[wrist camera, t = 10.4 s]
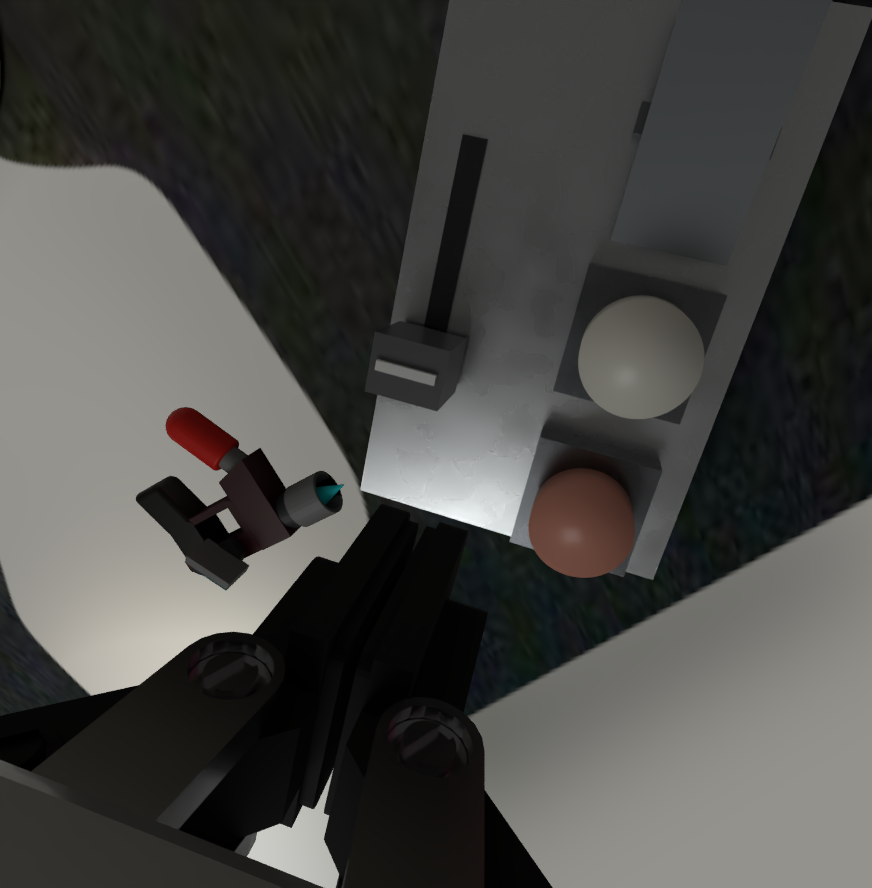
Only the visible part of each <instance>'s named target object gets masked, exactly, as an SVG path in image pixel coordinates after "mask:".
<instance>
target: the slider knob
mask: <svg viewBox="0 0 872 888" xmlns="http://www.w3.org/2000/svg"><path fill="white" fill-rule="evenodd" d="M466 342H467V338H464V337H460V336H456V335H453V334H449V333H445V332H441V331H437V330H433V329H429V328H426V327H422V326H418V325H414V324H410V323H406V322H402V321H399V322H396V323H394V324H392V325H389V326H387V327H385V328H382V329H380V330H378V331H375V335H374V341H373V347H372V352H371V358H370V364H369V370H368V375H367V381H366V387H365V391H366V392H369V393H373V394H376V395H380V396H384V397H387V398H391V399H394V400H398V401H401V402H405V403H408V404H412V405H416V406H419V407H423V408H426V409H430V410H433V411H438V410H439V409H440V408H441V407H442V406H443V405H444V404H445V403H446V402H447V400H448V399H449V398H450V397H451V396H452V395H453V394H454V393H455V391H456V386H457V382H458V377H459V373H460V369H461V364H462V360H463V356H464V351H465V347H466Z"/></svg>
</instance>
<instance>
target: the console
mask: <svg viewBox="0 0 872 888" xmlns="http://www.w3.org/2000/svg"><path fill="white" fill-rule="evenodd" d="M680 3H681V0H450V1H449V6H448V12H447V17H446V23H445V28H444V34H443V39H442V45H441V50H440V56H439V61H438V67H437V72H436V78H435V83H434V89H433V94H432V100H431V105H430V111H429V116H428V122H427V127H426V133H425V138H424V144H423V149H422V155H421V160H420V165H419V171H418V176H417V182H416V187H415V193H414V198H413V204H412V209H411V215H410V220H409V226H408V231H407V237H406V242H405V248H404V253H403V259H402V264H401V270H400V275H399V281H398V286H397V292H396V297H395V303H394V308H393V314H392V319H391V325H392V324H394V323H396V322H399V321H402V322H406V323H410V324H414V325H418V326H422V327H426V328H429V329H433V330H437V331H441V332H445V333H449V334H453V335H456V336H460V337H464V338H467V342H466V347H465V351H464V356H463V360H462V364H461V369H460V373H459V377H458V382H457V386H456V391H455V393H454V394H453V395H452V396H451V397H450V398H449V399H448V400H447V402H446V403H445V404H444V405H443V406H442V407H441V408H440V409H439V410H438V411H433V410H430V409H426V408H423V407H419V406H416V405H412V404H408V403H405V402H401V401H398V400H394V399H391V398H387V397H384V396H380V395H378V396H377V401H376V407H375V412H374V418H373V423H372V429H371V434H370V440H369V445H368V451H367V456H366V462H365V467H364V473H363V478H362V484H361V489H360V490H362V491H365V492H369V493H372V494H375V495H378V496H382V497H385V498H388V499H391V500H395V501H398V502H401V503H404V504H408V505H411V506H414V507H417V508H421V509H424V510H427V511H430V512H434V513H437V514H440V515H443V516H447V517H450V518H453V519H456V520H460V521H463V522H466V523H469V524H473V525H476V526H479V527H482V528H486V529H489V530H492V531H495V532H499V533H502V534H505V535H508V536H511V539H510V542H512V543H515V544H519V545H522V546H525V547H528V548H531V549H534V548H533V546H532V544H531V541H530V537H529V531H528V525H529V518H530V514H531V510H532V506H533V503H534V499H535V497H536V494H537V492H538V490H539V489H540V488H541V486H542V485H543V484H544V483H545V482H546V481H547V480H548V479H549V478H551V477H552V476H554V475H556V474H557V473H560V472H562V471H565V470H569V469H575V468H586V469H593V470H597V471H600V472H603V473H605V474H607V475H609V476H610V477H612V478H613V479H615V480H616V481H617V482H618V483H619V484H620V485H621V486H622V487H623V488H624V490H625V491H626V493H627V494H628V496H629V498H630V501H631V504H632V508H633V516H634V525H635V538H634V543H633V547H632V549H631V551H630V553H629V555H628V556H627V558H626V559H625V560H624V561H623V562H622V563H621V564H620V565H619V566H618V567H617V568H615V569H613V570H612V571H610V572H609V573H612V574H616V575H619V576H622V577H624V574H625V572H628V573H632V574H635V575H638V576H641V577H645V578H648V579H651V580H653V578H654V575H655V573H656V570H657V567H658V565H659V562H660V560H661V557H662V555H663V552H664V550H665V547H666V544H667V542H668V539H669V537H670V534H671V532H672V529H673V526H674V524H675V521H676V519H677V516H678V514H679V511H680V509H681V506H682V503H683V501H684V498H685V496H686V493H687V491H688V488H689V485H690V483H691V480H692V478H693V475H694V473H695V470H696V468H697V465H698V462H699V460H700V457H701V455H702V452H703V450H704V447H705V444H706V442H707V439H708V437H709V434H710V432H711V429H712V426H713V424H714V421H715V419H716V416H717V414H718V411H719V409H720V406H721V403H722V401H723V398H724V396H725V393H726V391H727V388H728V385H729V383H730V380H731V378H732V375H733V373H734V370H735V368H736V365H737V362H738V360H739V357H740V355H741V352H742V350H743V347H744V344H745V342H746V339H747V337H748V334H749V332H750V329H751V327H752V324H753V321H754V319H755V316H756V314H757V311H758V309H759V306H760V303H761V301H762V298H763V296H764V293H765V291H766V288H767V285H768V283H769V280H770V278H771V275H772V273H773V270H774V268H775V265H776V262H777V260H778V257H779V255H780V252H781V250H782V247H783V244H784V242H785V239H786V237H787V234H788V232H789V229H790V227H791V224H792V221H793V219H794V216H795V214H796V211H797V209H798V206H799V203H800V201H801V198H802V196H803V193H804V191H805V188H806V186H807V183H808V180H809V178H810V175H811V173H812V170H813V168H814V165H815V162H816V160H817V157H818V155H819V152H820V150H821V147H822V144H823V142H824V139H825V137H826V134H827V132H828V129H829V127H830V124H831V121H832V119H833V116H834V114H835V111H836V109H837V106H838V103H839V101H840V98H841V96H842V93H843V91H844V88H845V86H846V83H847V80H848V78H849V75H850V73H851V70H852V68H853V65H854V62H855V60H856V57H857V55H858V52H859V50H860V47H861V45H862V42H863V39H864V37H865V34H866V32H867V29H868V27H869V24H870V21H871V19H872V8H870V7H863V6H857V5H850V4H844V3H838V2H831V5H830V7H829V10H828V12H827V15H826V17H825V20H824V22H823V25H822V27H821V30H820V32H819V35H818V37H817V40H816V42H815V45H814V47H813V50H812V52H811V55H810V58H809V60H808V63H807V65H806V68H805V70H804V73H803V75H802V78H801V80H800V83H799V85H798V88H797V90H796V93H795V95H794V98H793V100H792V103H791V105H790V108H789V110H788V113H787V115H786V118H785V120H784V123H783V125H782V128H781V130H780V133H779V136H778V138H777V141H776V143H775V146H774V148H773V151H772V153H771V156H770V158H769V161H768V163H767V166H766V168H765V171H764V173H763V176H762V178H761V181H760V183H759V186H758V188H757V191H756V193H755V196H754V198H753V201H752V203H751V206H750V208H749V211H748V214H747V216H746V219H745V221H744V224H743V226H742V229H741V231H740V234H739V236H738V239H737V241H736V244H735V246H734V249H733V251H732V254H731V256H730V259H729V261H728V264H727V266H723V265H719V264H714V263H710V262H705V261H701V260H697V259H692V258H688V257H683V256H679V255H674V254H670V253H665V252H661V251H657V250H652V249H648V248H643V247H639V246H634V245H630V244H626V243H621V242H617V241H612V240H611V237H612V233H613V229H614V226H615V223H616V219H617V216H618V213H619V209H620V206H621V202H622V199H623V196H624V192H625V189H626V186H627V182H628V179H629V175H630V172H631V169H632V165H633V162H634V159H635V155H636V152H637V148H638V145H639V142H640V138H641V135H642V132H643V128H644V125H645V121H646V118H647V115H648V111H649V108H650V105H651V101H652V98H653V94H654V91H655V88H656V84H657V81H658V78H659V74H660V71H661V67H662V64H663V61H664V57H665V54H666V51H667V47H668V44H669V40H670V37H671V34H672V30H673V27H674V24H675V20H676V17H677V13H678V10H679V7H680ZM637 295H647V296H654V297H658V298H661V299H664V300H666V301H668V302H670V303H672V304H674V305H675V306H677V307H678V308H679V309H680V310H681V311H682V312H683V313H684V314H685V315H686V316H687V317H688V318H689V319H690V320H691V321H692V322H693V323H694V325H695V327H696V328H697V330H698V332H699V334H700V336H701V339H702V342H703V347H704V366H703V371H702V374H701V377H700V379H699V382H698V384H697V386H696V387H695V389H694V390H693V392H692V393H691V394H690V396H689V397H688V398H687V399H686V400H685V401H684V402H683V403H681V404H680V405H679V406H677V407H676V408H675V409H673V410H671V411H669V412H667V413H665V414H662V415H660V416H656V417H653V418H647V419H629V418H624V417H620V416H617V415H614V414H612V413H610V412H608V411H606V410H604V409H603V408H601V407H600V406H599V405H598V404H597V403H595V402H594V401H593V399H592V398H591V397H590V396H589V395H588V393H587V392H586V390H585V388H584V386H583V384H582V381H581V378H580V374H579V369H578V357H579V350H580V345H581V341H582V337H583V335H584V332H585V330H586V328H587V326H588V324H589V323H590V322H591V320H592V319H593V318H594V317H595V315H596V314H597V313H598V312H600V311H601V310H602V309H603V308H604V307H606V306H607V305H609V304H611V303H613V302H615V301H617V300H619V299H622V298H625V297H630V296H637Z"/></svg>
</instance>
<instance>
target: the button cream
mask: <svg viewBox="0 0 872 888" xmlns="http://www.w3.org/2000/svg"><path fill="white" fill-rule="evenodd" d="M703 366H704V347H703V342H702V339H701V336H700V334H699V332H698V330H697V328H696V327H695V325H694V323H693V322H692V321H691V320H690V319H689V318H688V317H687V316H686V315H685V314H684V313H683V312H682V311H681V310H680V309H679V308H678V307H677V306H675V305H674V304H672V303H670V302H668V301H666V300H664V299H661V298H658V297H654V296H647V295H637V296H630V297H625V298H622V299H619V300H617V301H615V302H613V303H611V304H609V305H607V306H606V307H604V308H603V309H602V310H601V311H600V312H598V313H597V314H596V315H595V317H594V318H593V319H592V320H591V322H590V323H589V324H588V326H587V328H586V330H585V332H584V335H583V337H582V341H581V345H580V350H579V357H578V369H579V374H580V378H581V381H582V384H583V386H584V388H585V390H586V392H587V393H588V395H589V396H590V397H591V398H592V399H593V401H594V402H595V403H597V404H598V405H599V406H600V407H601V408H603V409H604V410H606V411H608V412H610V413H612V414H614V415H617V416H620V417H624V418H629V419H647V418H653V417H656V416H660V415H662V414H665V413H667V412H669V411H671V410H673V409H675V408H676V407H677V406H679V405H680V404H681V403H683V402H684V401H685V400H686V399H687V398H688V397H689V396H690V394H691V393H692V392H693V390H694V389H695V387H696V386H697V384H698V382H699V379H700V377H701V374H702V371H703Z"/></svg>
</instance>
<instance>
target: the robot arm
mask: <svg viewBox="0 0 872 888" xmlns="http://www.w3.org/2000/svg"><path fill="white" fill-rule="evenodd" d="M0 88H1V62H0ZM409 519H410V513H409V512H406V511H403V510H399V509H396V508H393V507H390V506H387V505H384V504H381V505H380V506H379V508H378V509H377V510H376V512H375V513H374V515H373V516H372V517H371V519H370V520H369V522H368V523H367V524H366V526H365V527H364V528H363V530H362V531H361V533H360V534H359V535H358V537H357V538H356V539H355V541H354V542H353V544H352V545H351V547H350V548H349V549H348V551H347V552H346V553H345V555H344V556H343V558H342V559H341V560H340V562H339V563H337V562H334V561H331V560H328V559H325V558H322V557H316V558H315V559H314V560H312V562H311V563H310V564H309V565H308V567H307V568H306V569H305V570H304V571H303V573H302V574H301V575H300V576H299V578H298V579H297V580H296V581H295V583H294V584H293V585H292V586H291V588H290V589H289V590H288V591H287V593H286V594H285V595H284V596H283V598H282V599H281V600H280V601H279V602H278V604H277V605H276V606H275V607H274V609H273V610H272V611H271V612H270V614H269V615H268V616H267V617H266V619H265V620H264V621H263V622H262V624H261V625H260V626H259V627H258V629H257V630H256V631H255V632H254V633H253V635H251V634H247V633H239V632H227V633H217V634H213V635H211V636H207V637H204V638H201V639H199V640H198V641H196V642H194V643H193V644H191V645H189V646H188V647H187V648H186V649H184V650H183V651H182V652H180V653H179V654H178V655H177V656H175V657H174V658H173V659H172V660H170V661H169V662H168V663H167V664H165V665H164V666H163V667H162V668H160V669H159V670H158V671H157V672H155V673H154V674H153V675H151V676H150V677H149V678H148V679H146V680H145V681H144V682H143V683H141V684H140V685H138V686H133V687H129V688H124V689H120V690H115V691H111V692H106V693H101V694H97V695H92V696H88V697H83V698H79V699H74V700H70V701H65V702H61V703H56V704H52V705H47V706H43V707H38V708H34V709H29V710H25V711H20V712H16V713H11V714H7V715H3V716H0V888H323V887H321V886H318V885H315V884H313V883H311V882H308V881H305V880H303V879H301V878H298V877H296V876H293V875H291V874H288V873H286V872H283V871H280V870H278V869H275V868H273V867H270V866H268V865H266V864H263V863H260V862H258V861H255V860H253V859H250V858H248V857H247V855H248V854H249V852H250V850H251V848H252V846H253V844H254V842H255V840H256V835H257V832H259V831H261V830H264V829H266V828H269V827H272V826H275V825H277V824H283V825H285V826H288V827H290V828H292V826H293V824H294V822H295V820H296V818H297V816H298V814H299V811H300V809H301V807H302V805H304V806H306V807H309V808H311V809H314V808H315V806H316V805H317V803H318V801H319V799H320V796H321V794H322V792H323V790H324V788H325V786H326V783H327V781H328V779H329V777H330V775H331V772H332V770H333V774H332V778H331V782H330V787H329V791H328V796H327V800H326V804H325V809H324V813H325V814H327V815H329V820H328V824H327V828H326V833H325V837H324V840H325V843H326V845H327V847H328V849H329V852H330V854H331V856H332V859H333V861H334V863H335V865H336V867H337V870H338V872H339V878H338V881H337V885H336V888H552V886H551V885H550V883H549V882H548V880H547V879H546V878H545V876H544V875H543V873H542V872H541V870H540V869H539V868H538V866H537V865H536V863H535V862H534V860H533V859H532V858H531V856H530V855H529V853H528V852H527V850H526V849H525V847H524V846H523V845H522V843H521V842H520V840H519V839H518V837H517V836H516V834H515V833H514V832H513V830H512V829H511V827H510V826H509V824H508V823H507V822H506V820H505V819H504V817H503V816H502V814H501V813H500V811H499V810H498V809H497V807H496V806H495V804H494V803H493V801H492V800H491V799H490V797H489V796H488V794H487V793H486V791H485V790H484V746H483V741H482V737H481V735H480V733H479V731H478V729H477V728H476V726H475V724H474V723H473V722H472V721H471V720H470V719H469V718H468V717H467V716H466V715H465V714H464V713H463V712H464V708H465V704H466V700H467V696H468V692H469V688H470V684H471V679H472V675H473V671H474V667H475V663H476V659H477V655H478V651H479V647H480V643H481V639H482V635H483V631H484V627H485V623H486V619H487V614H488V612H486V611H483V610H480V609H477V608H474V607H471V606H468V605H465V604H462V603H459V602H456V601H453V600H450V595H451V592H452V588H453V585H454V581H455V577H456V574H457V570H458V567H459V563H460V560H461V556H462V553H463V549H464V546H465V542H466V538H467V534H468V531H466V530H463V529H460V528H457V527H454V526H450V525H447V524H444V523H441V522H440V523H439V525H438V527H437V529H434V528H431V527H428V526H427V527H426V528H425V530H424V532H423V534H422V536H421V538H420V540H419V542H418V544H417V545H416V547H415V549H414V551H413V553H412V550H413V546H414V542H415V538H416V534H417V530H418V523H415V522H412V521H409ZM411 554H412V555H411ZM333 768H334V769H333Z"/></svg>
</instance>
